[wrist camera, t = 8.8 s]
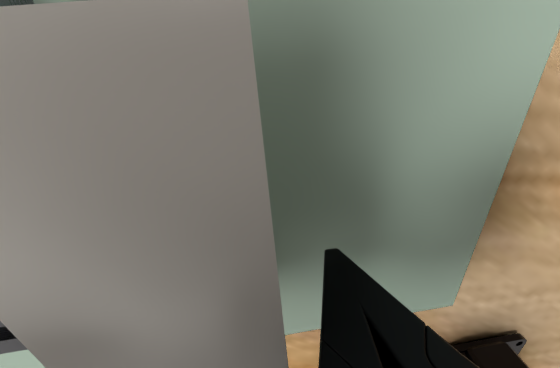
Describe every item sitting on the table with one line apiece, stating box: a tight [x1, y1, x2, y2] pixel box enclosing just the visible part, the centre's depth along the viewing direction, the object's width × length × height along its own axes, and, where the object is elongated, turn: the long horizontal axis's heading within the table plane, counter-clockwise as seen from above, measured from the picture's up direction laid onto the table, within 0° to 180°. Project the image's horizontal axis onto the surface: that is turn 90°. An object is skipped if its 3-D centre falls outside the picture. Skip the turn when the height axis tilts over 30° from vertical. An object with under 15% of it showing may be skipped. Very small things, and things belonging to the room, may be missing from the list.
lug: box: [0, 0, 288, 368], centre depth 6 cm, size 8×4×4 cm, turn 4°
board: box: [0, 0, 560, 368], centre depth 8 cm, size 20×25×1 cm
